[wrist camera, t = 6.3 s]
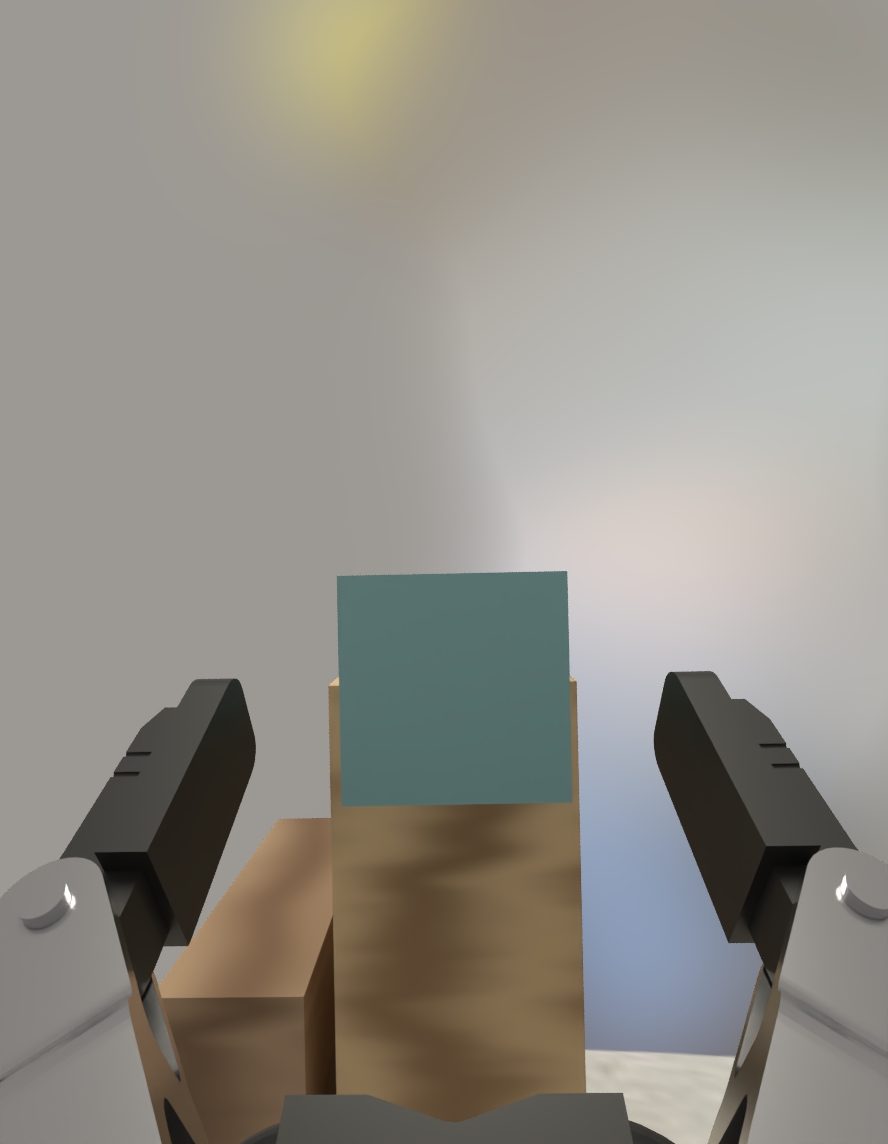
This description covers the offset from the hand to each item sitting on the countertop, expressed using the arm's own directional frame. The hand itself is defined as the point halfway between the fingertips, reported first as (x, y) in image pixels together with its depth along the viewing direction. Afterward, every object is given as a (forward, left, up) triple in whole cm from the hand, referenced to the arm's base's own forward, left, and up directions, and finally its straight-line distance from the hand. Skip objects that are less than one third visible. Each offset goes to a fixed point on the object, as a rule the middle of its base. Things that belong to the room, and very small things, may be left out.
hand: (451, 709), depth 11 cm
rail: (0, -10, -1) cm, 10 cm away
